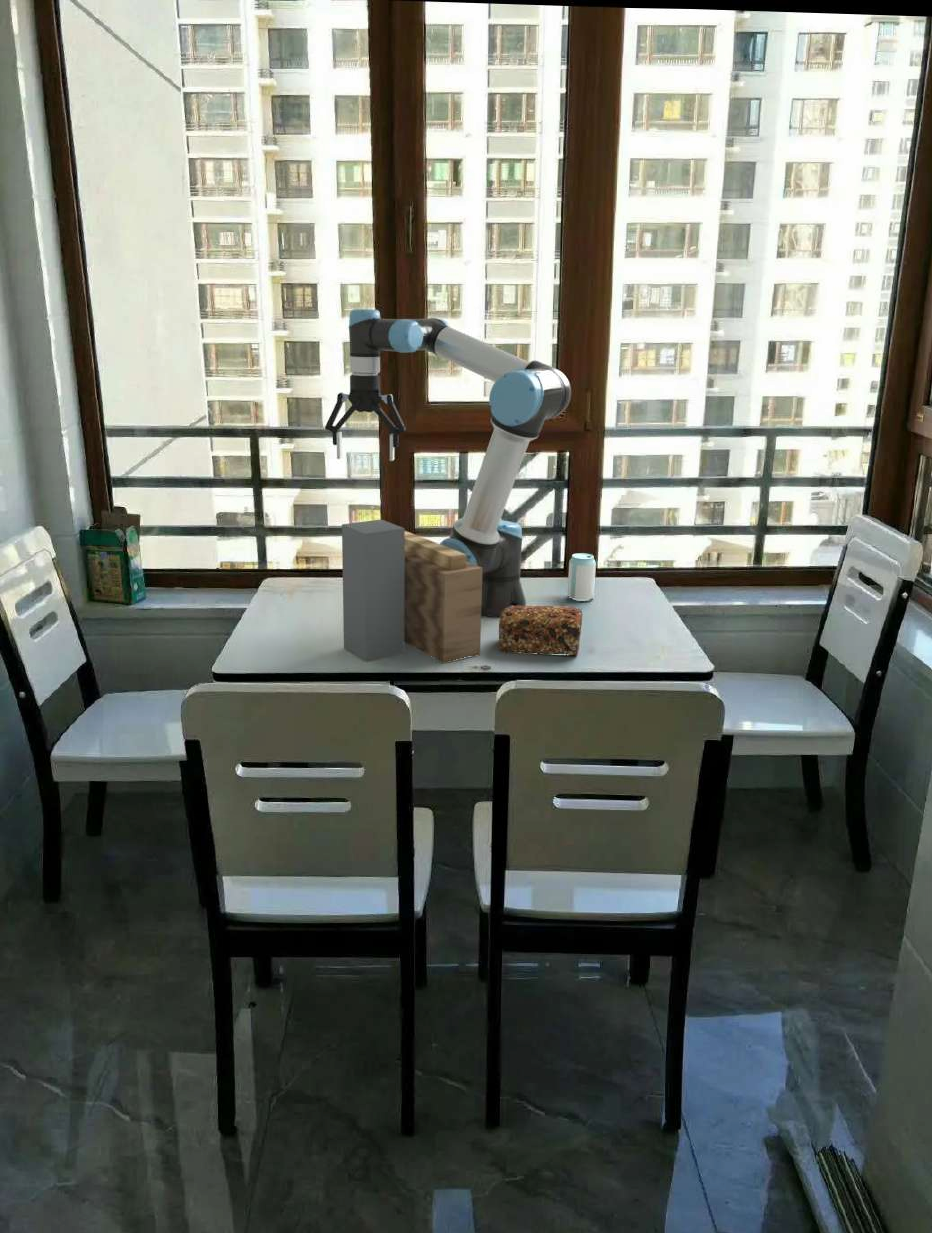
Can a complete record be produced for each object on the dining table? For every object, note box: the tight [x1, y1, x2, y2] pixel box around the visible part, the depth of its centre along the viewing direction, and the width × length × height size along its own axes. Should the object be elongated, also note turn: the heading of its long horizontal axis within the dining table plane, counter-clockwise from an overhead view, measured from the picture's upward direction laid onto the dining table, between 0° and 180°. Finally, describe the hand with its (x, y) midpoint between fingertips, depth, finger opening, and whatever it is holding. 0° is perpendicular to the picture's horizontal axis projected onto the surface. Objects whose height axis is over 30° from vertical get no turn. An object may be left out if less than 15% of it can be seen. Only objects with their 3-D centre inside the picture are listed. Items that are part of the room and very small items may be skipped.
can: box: [567, 552, 597, 599], centre depth 267 cm, size 7×7×12 cm
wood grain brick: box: [404, 551, 483, 664], centre depth 228 cm, size 20×10×20 cm, turn 35°
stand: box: [341, 519, 406, 662], centre depth 223 cm, size 10×10×29 cm
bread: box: [498, 605, 583, 656], centre depth 230 cm, size 19×11×10 cm, turn 80°
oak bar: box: [405, 530, 466, 570], centre depth 229 cm, size 28×4×3 cm, turn 35°
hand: (365, 459), depth 255 cm, fingers open, 13 cm apart
